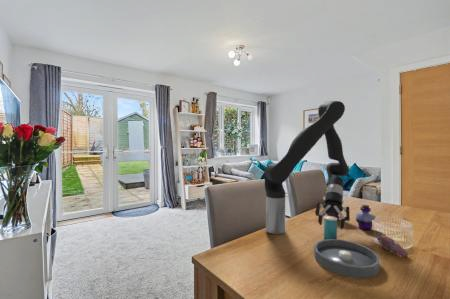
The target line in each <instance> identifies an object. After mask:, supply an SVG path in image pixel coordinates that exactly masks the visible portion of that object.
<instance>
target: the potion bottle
mask: <svg viewBox="0 0 450 299" xmlns="http://www.w3.org/2000/svg"><path fill="white" fill-rule="evenodd" d="M371 210H372V209H371V208H370V205H367V204H362V205H361V206H360V211H361V212H356V213H355V220H356V221H355V222H356V223H357V225H358V229H359V230H361V231H366V232H372V228H373V225H374V224H373V225H372V220H374V219H375V220H376V216H375V215H373V214H371V213H370V212H371Z"/></svg>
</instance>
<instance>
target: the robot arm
mask: <svg viewBox="0 0 450 299" xmlns="http://www.w3.org/2000/svg"><path fill="white" fill-rule="evenodd" d="M317 110H318V116H319V118H318V119H317V120H315V121H314V122H313V123H311V124H309V125H308V126H306V127H305V128H304V129H302V130H301V131H300V132H299V133H298V134H297V135H296V137H294V139H293V140H292V142H291V143H290V146H289V148H288V151H287V152H286V154H285V155H284V157H282V158H281V159H280V161H279V162H277V163H276V162H275V163H274V162H273V163H269V164H267V165H266V167H265V169H264V189H265V195H266V196H265V233H268V234H271V235H272V234H273V235H282V234H284V233H286V191H285V190H286V189H285V188H284V186H283V183H284V182H285V181H286V180H287V179H288V178H289V176H290V175H291V174H292V172H293V171H294V169H295V168H297V166H298V164H299V163H300V162H301V161H302V159H304V157H305V156H307V154H308V153H309V152H310V151H311V149H313V148H314V146H316V144H317V143H318V142H319V141H320V139H321V138H322V137H323V136H324V138H325V141H326V148H327V150H326V151H327V156H328V159H330V160H332V161H333V160H334V161H337V162H329V163H327V165H326V174H327V179H328V180H327V186H326V191H325V196H326V197H325V196H324V197H325V201H324V203H320V202H317V204H316V206H315V211H314V213H315V217H318V220H317V223H318V224H319V226H322V225H323V220H324V219H323V218H324V216H327V214H329V215H338V216H339V220H340V227H339V228H340V229H341V230H343V229H344V228H345V222H350V220H351V219H350V217H351V214H350V206H344V207H343V204H342V201H343V199H344V179H343V178H342V177H345V176H347V175H348V174H349V172H350V168H349V166H348V163H347V161H346V159H345V157H344V152H343V149H344V148H343V144H342V140H341V138H340V136H339V134H338V133H337V130H336V129H335V126H334V125H335V124H336V123H337V122H338V121H339V120H340V119H341V118H342V117H343V115H344V113H345V112H346V111H345V110H346V107H345V104H344V103H343V102H342V101H338V100H333V101H332V100H331V101H330V100H329V101H323V102H322V103H321V104H320V105H319V106H318V109H317ZM322 208H323V209H322ZM321 209H322V211H321ZM343 211H344V213H345V216H344V215H343V213H342V212H343Z"/></svg>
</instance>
